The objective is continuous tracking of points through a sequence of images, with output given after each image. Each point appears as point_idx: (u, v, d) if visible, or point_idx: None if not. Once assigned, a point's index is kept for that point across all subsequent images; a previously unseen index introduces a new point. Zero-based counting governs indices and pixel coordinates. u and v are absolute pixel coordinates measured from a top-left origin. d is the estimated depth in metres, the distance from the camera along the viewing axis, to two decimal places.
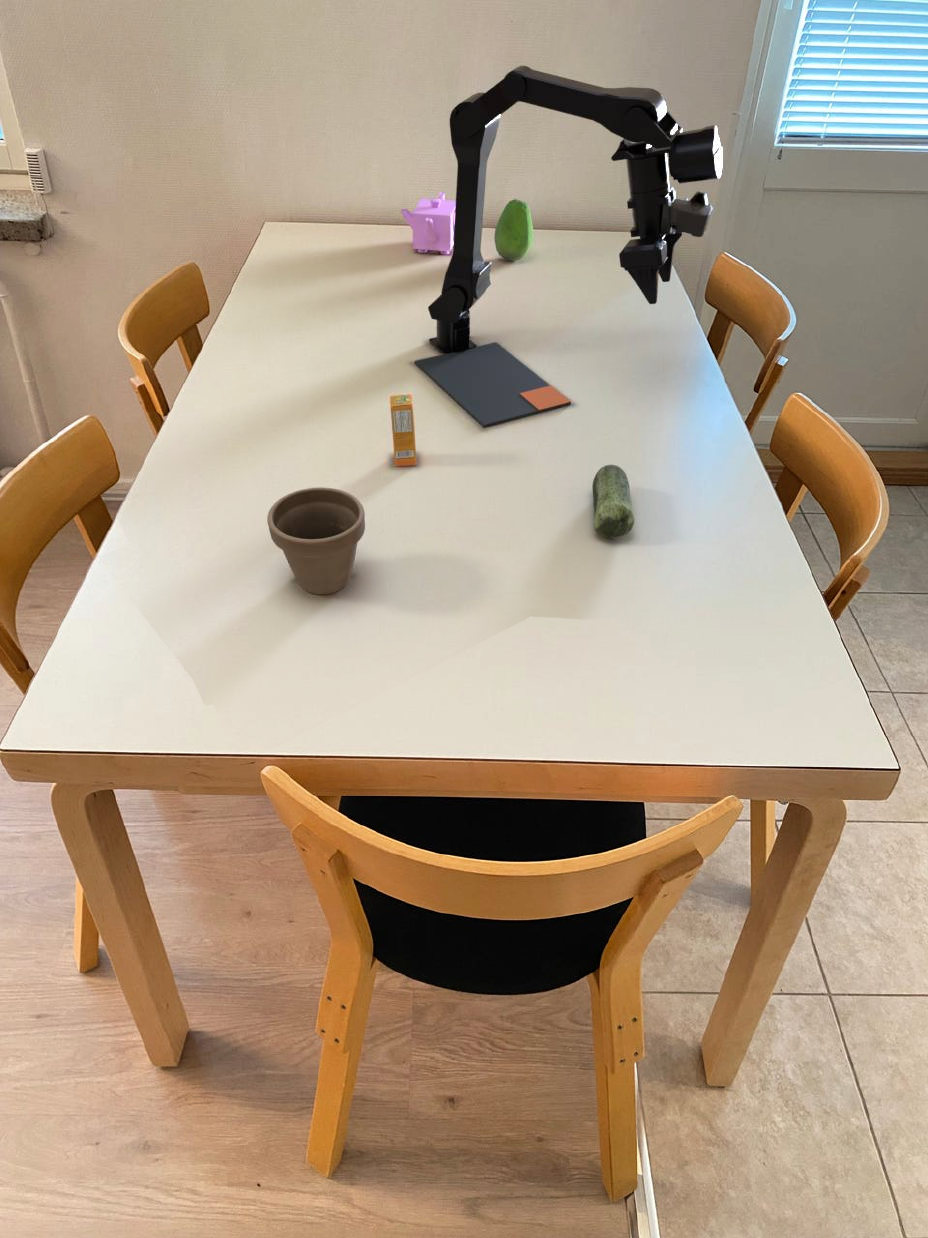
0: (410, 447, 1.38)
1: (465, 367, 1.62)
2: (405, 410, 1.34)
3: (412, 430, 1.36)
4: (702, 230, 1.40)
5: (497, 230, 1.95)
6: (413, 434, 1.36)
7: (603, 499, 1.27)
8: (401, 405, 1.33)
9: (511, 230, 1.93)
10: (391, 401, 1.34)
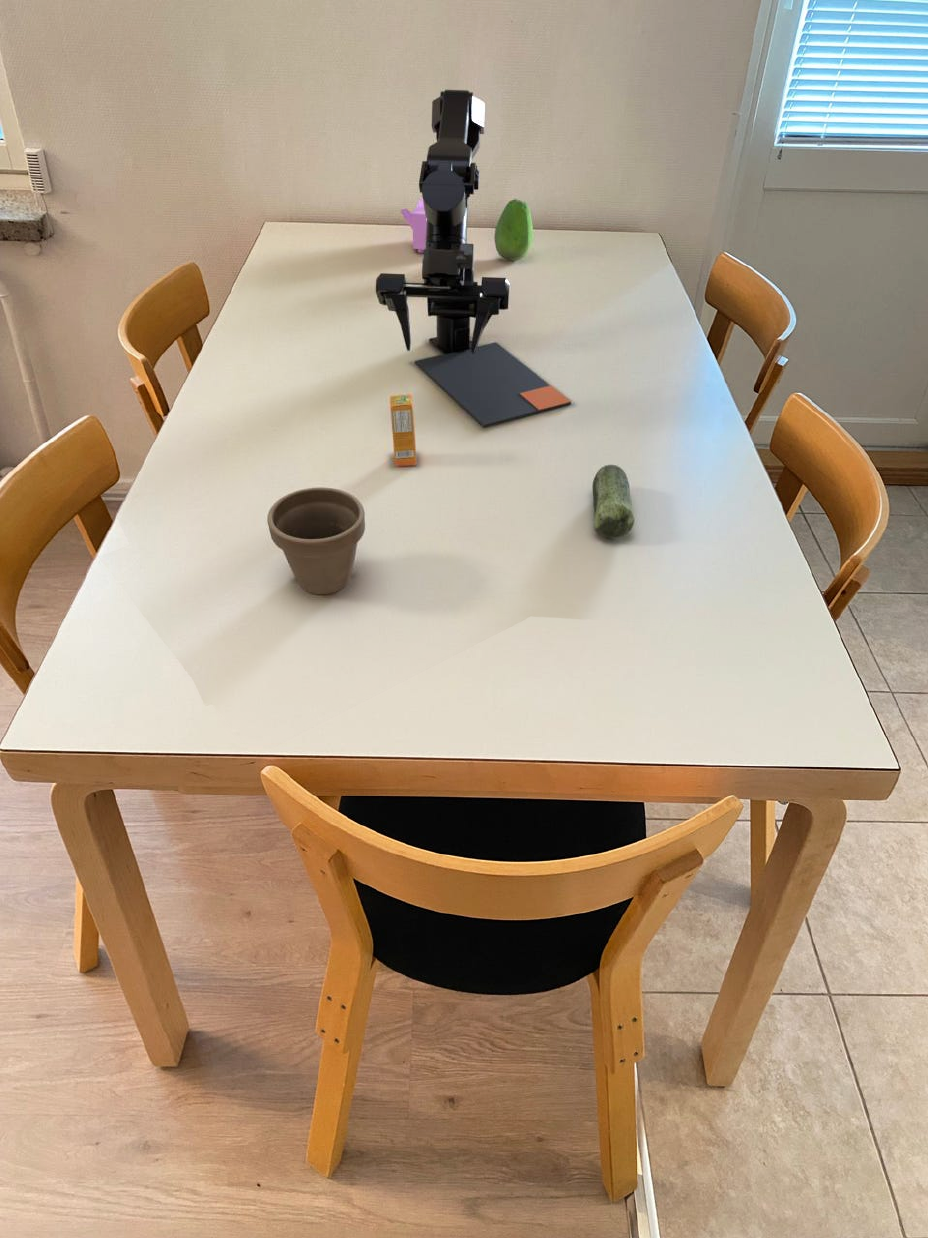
0: (410, 447, 1.38)
1: (465, 367, 1.62)
2: (405, 410, 1.34)
3: (412, 430, 1.36)
4: (426, 266, 1.30)
5: (497, 230, 1.95)
6: (413, 434, 1.36)
7: (603, 499, 1.27)
8: (401, 405, 1.33)
9: (511, 230, 1.93)
10: (391, 401, 1.34)
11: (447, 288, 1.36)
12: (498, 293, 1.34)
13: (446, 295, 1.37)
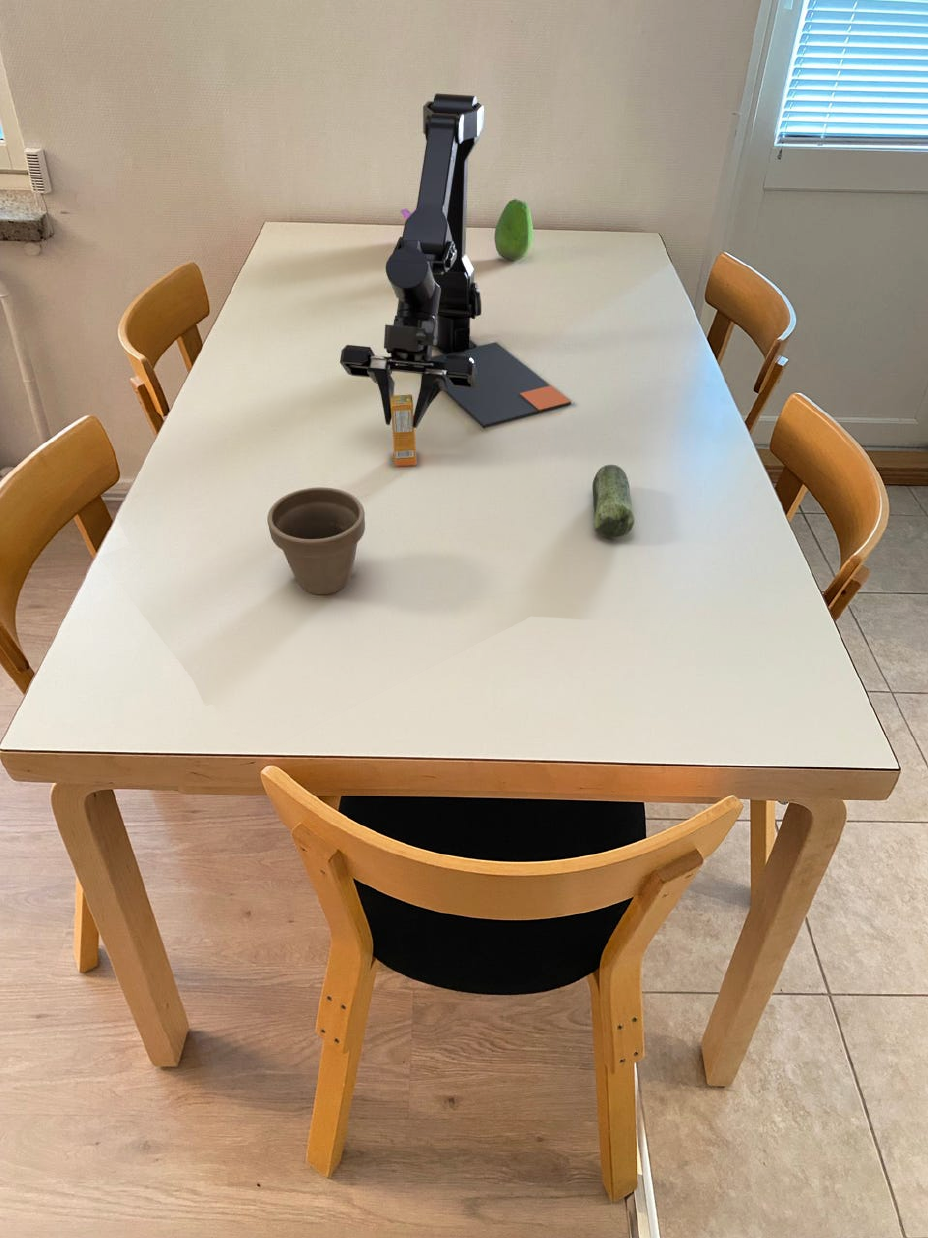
0: (410, 447, 1.38)
1: None
2: (405, 410, 1.34)
3: (412, 430, 1.36)
4: (385, 341, 1.29)
5: (497, 230, 1.95)
6: (413, 434, 1.36)
7: (603, 499, 1.27)
8: (401, 406, 1.33)
9: (511, 230, 1.93)
10: (391, 401, 1.34)
11: (431, 365, 1.34)
12: (460, 372, 1.32)
13: (411, 370, 1.36)
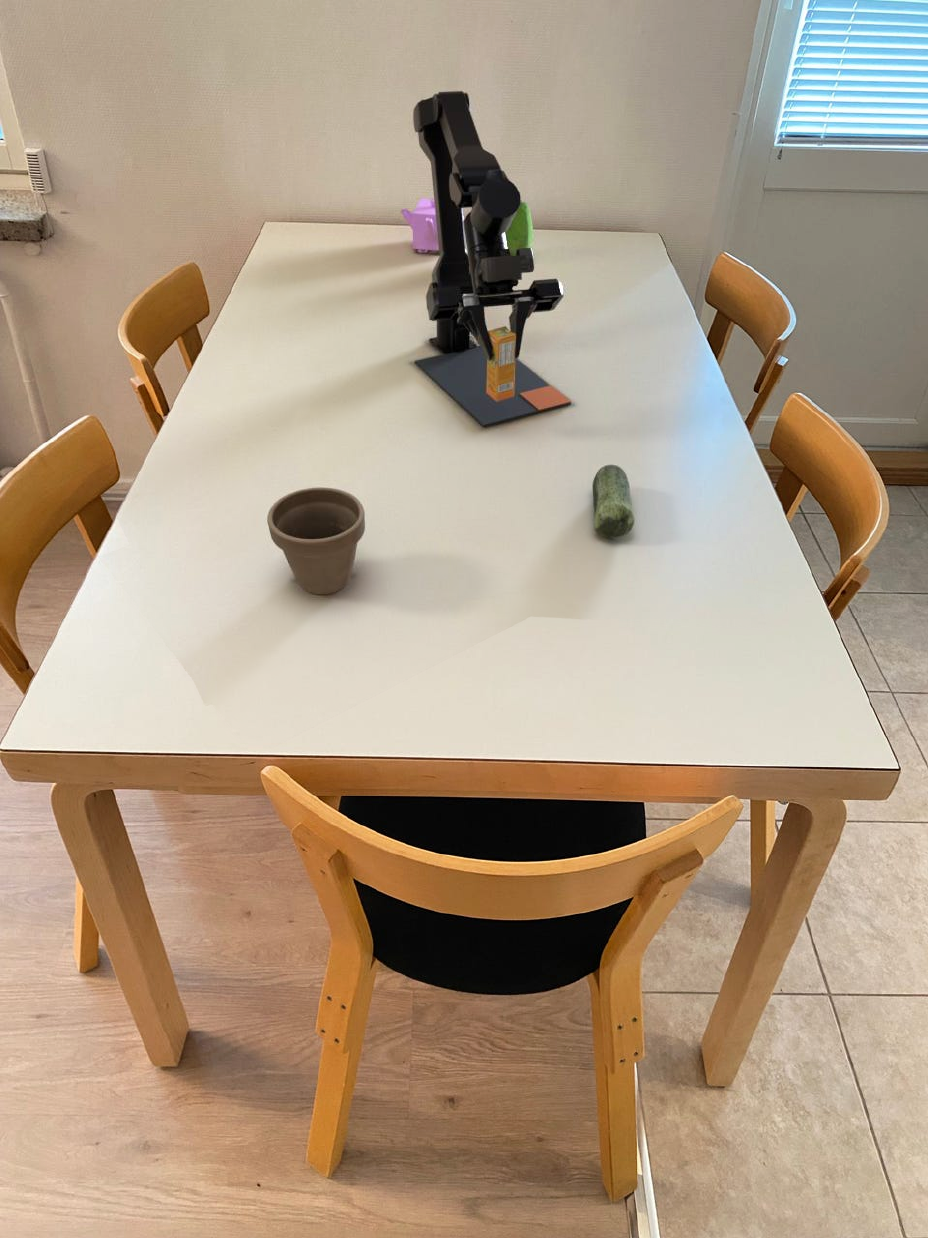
0: (511, 378, 1.40)
1: (465, 367, 1.62)
2: (510, 341, 1.35)
3: (514, 361, 1.38)
4: (491, 274, 1.30)
5: None
6: (514, 365, 1.39)
7: (603, 499, 1.27)
8: (506, 337, 1.35)
9: (511, 230, 1.93)
10: (493, 335, 1.35)
11: (519, 294, 1.37)
12: (554, 294, 1.36)
13: (499, 302, 1.37)
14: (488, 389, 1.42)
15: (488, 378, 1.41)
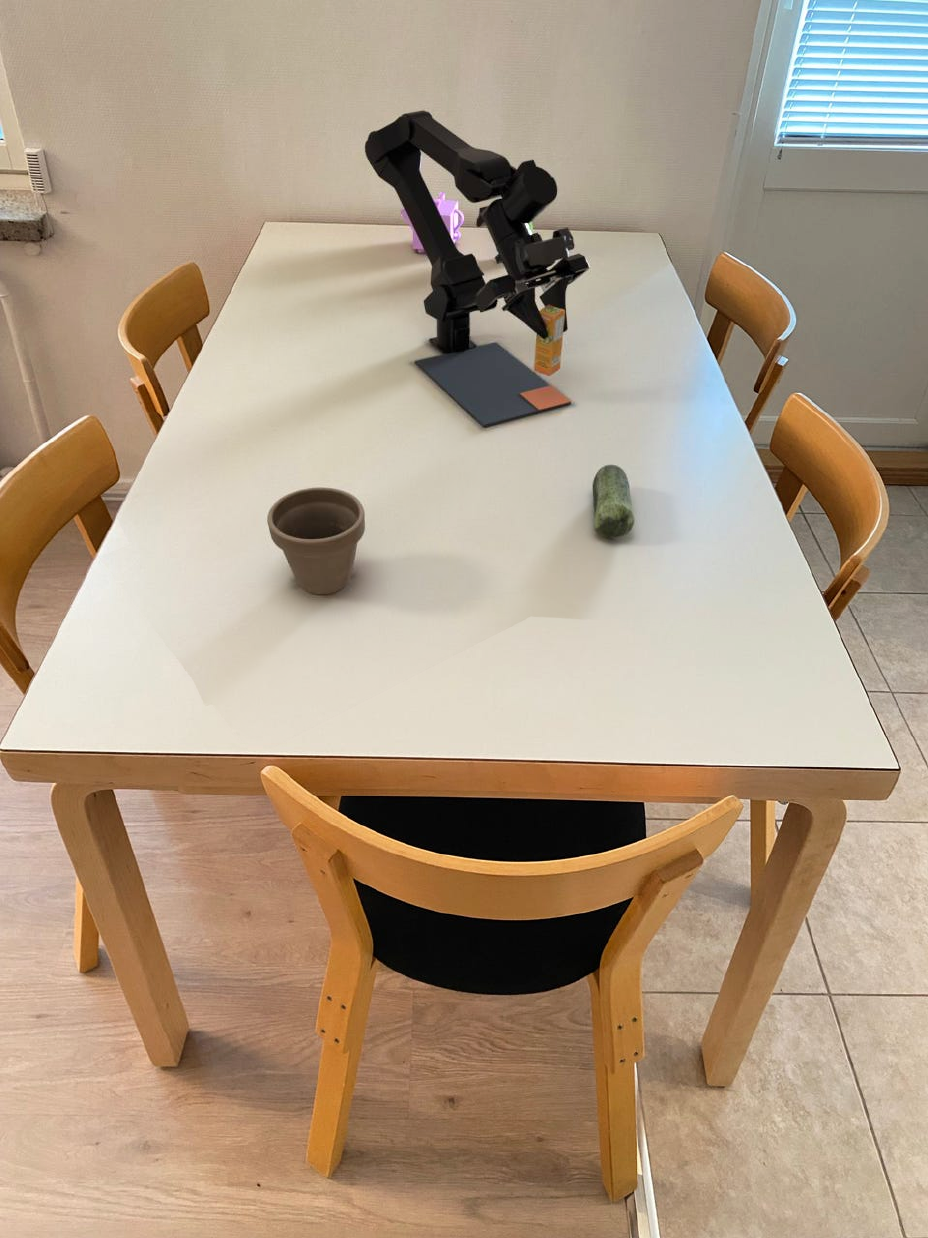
0: (559, 352, 1.50)
1: (465, 367, 1.62)
2: (561, 316, 1.45)
3: (562, 335, 1.48)
4: (547, 257, 1.39)
5: None
6: (562, 339, 1.49)
7: (603, 499, 1.27)
8: (559, 314, 1.45)
9: None
10: (547, 314, 1.44)
11: (554, 273, 1.47)
12: (584, 267, 1.47)
13: (538, 284, 1.46)
14: (537, 366, 1.51)
15: (537, 356, 1.50)
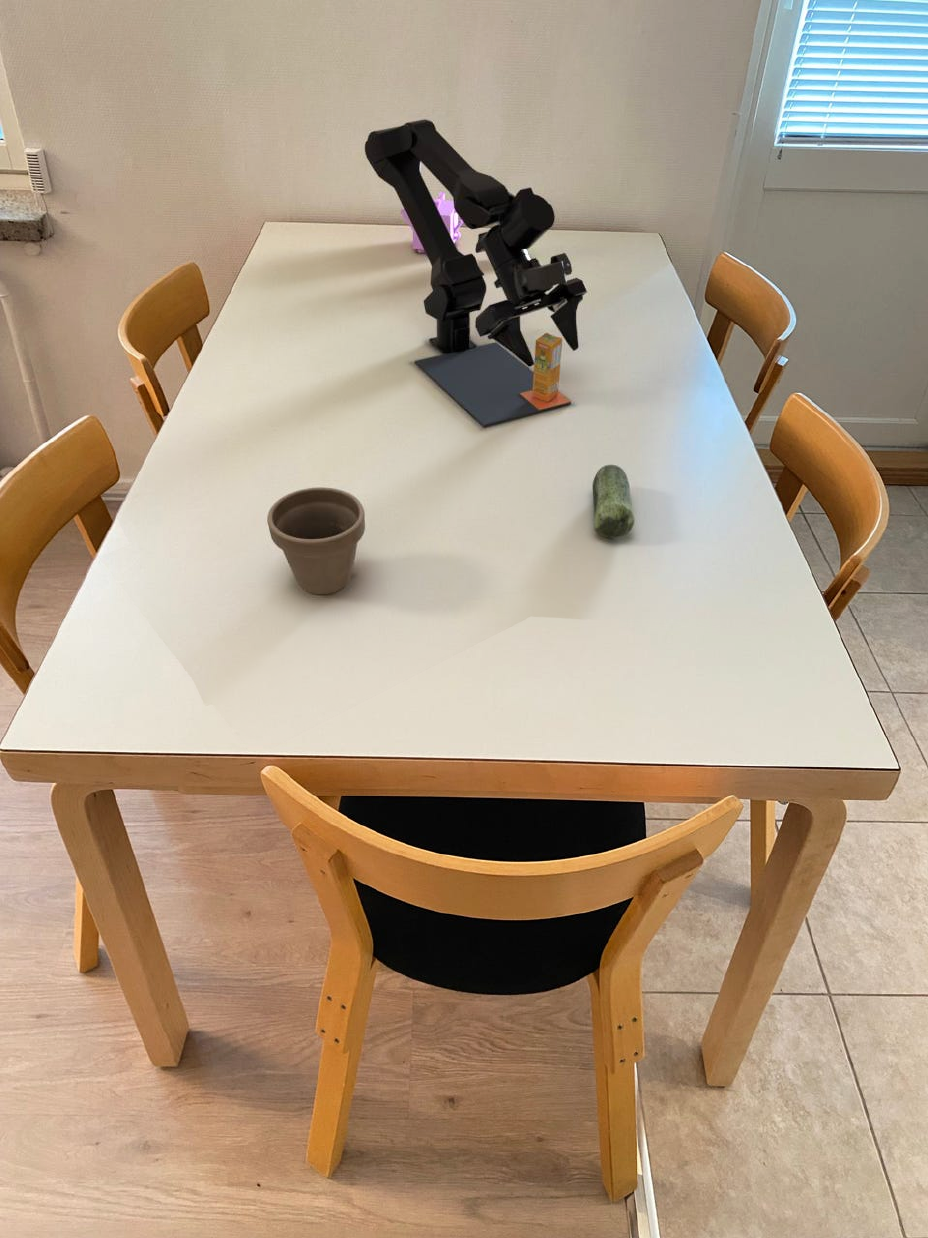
0: (557, 379, 1.53)
1: (465, 367, 1.62)
2: (559, 345, 1.48)
3: None
4: (545, 282, 1.41)
5: None
6: None
7: (603, 499, 1.27)
8: (556, 342, 1.48)
9: None
10: (544, 343, 1.47)
11: (539, 301, 1.48)
12: (582, 291, 1.50)
13: (536, 308, 1.49)
14: (535, 393, 1.54)
15: (536, 383, 1.53)
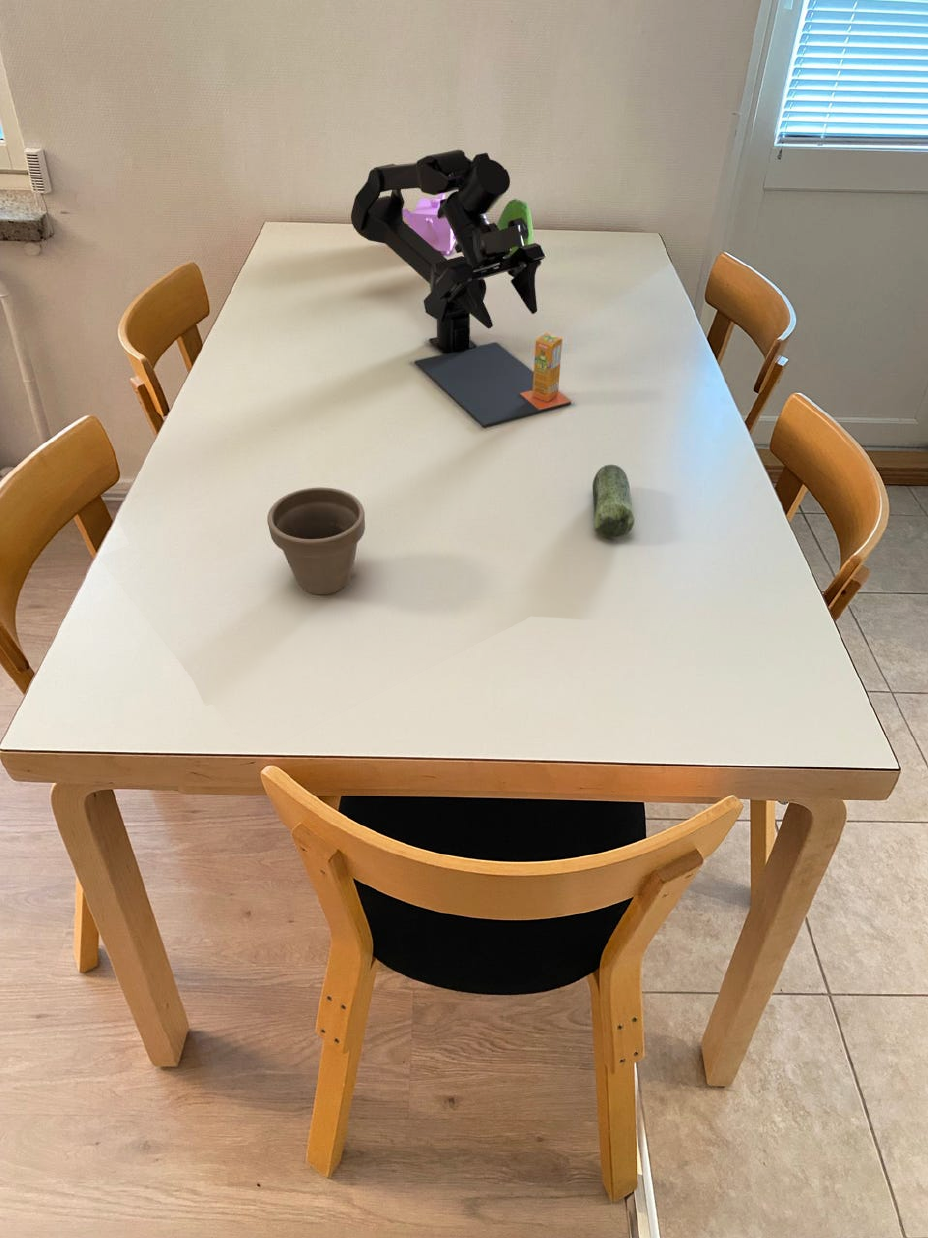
0: (557, 379, 1.53)
1: (465, 367, 1.62)
2: (559, 345, 1.48)
3: None
4: (502, 245, 1.45)
5: None
6: None
7: (603, 499, 1.27)
8: (556, 342, 1.48)
9: None
10: (544, 343, 1.47)
11: (498, 265, 1.52)
12: (540, 256, 1.54)
13: (495, 272, 1.53)
14: (535, 393, 1.54)
15: (536, 383, 1.53)
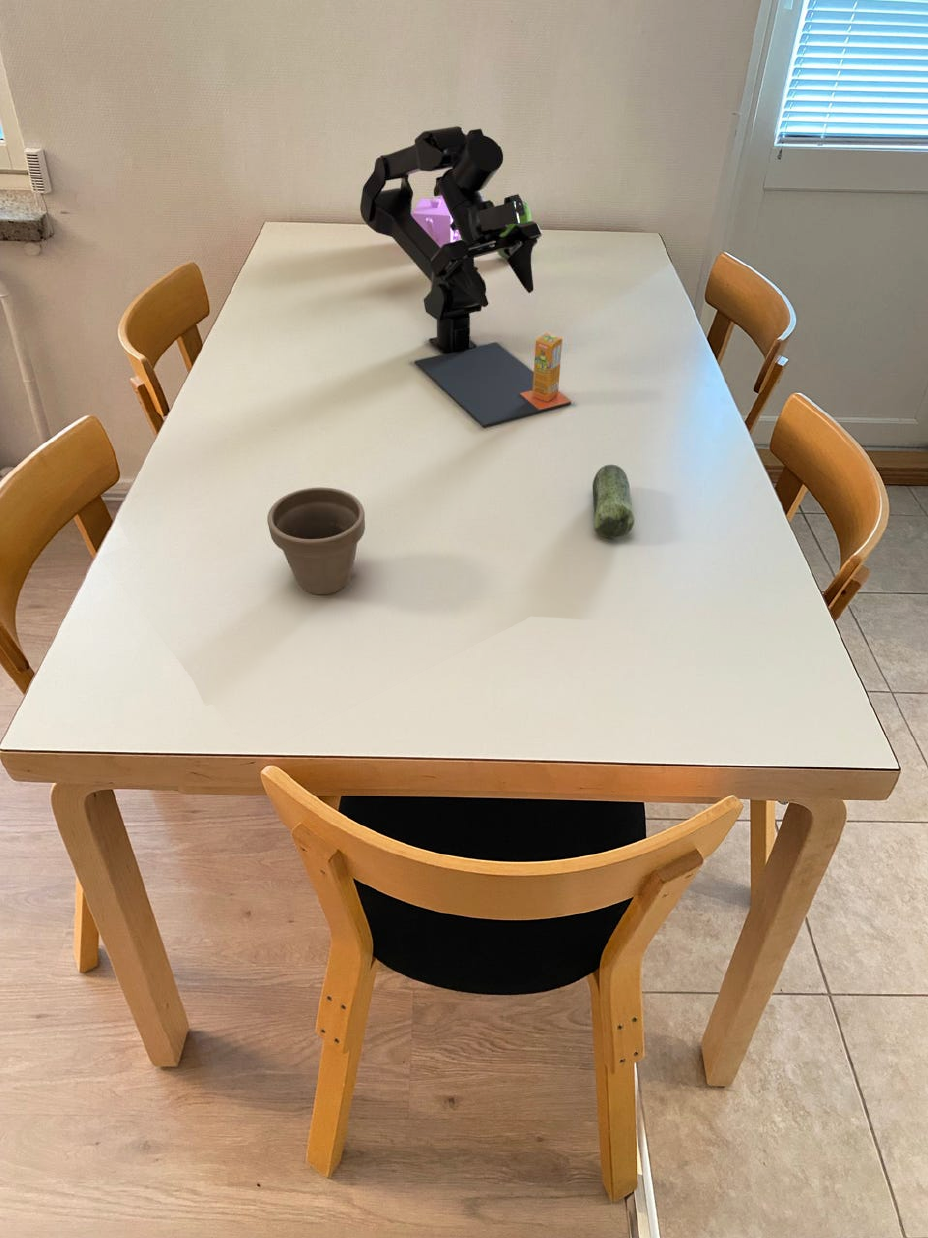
0: (557, 379, 1.53)
1: (465, 367, 1.62)
2: (559, 345, 1.48)
3: None
4: (497, 221, 1.44)
5: None
6: None
7: (603, 499, 1.27)
8: (556, 342, 1.48)
9: None
10: (544, 343, 1.47)
11: (493, 242, 1.50)
12: (536, 234, 1.52)
13: (491, 250, 1.51)
14: (535, 393, 1.54)
15: (536, 383, 1.53)
